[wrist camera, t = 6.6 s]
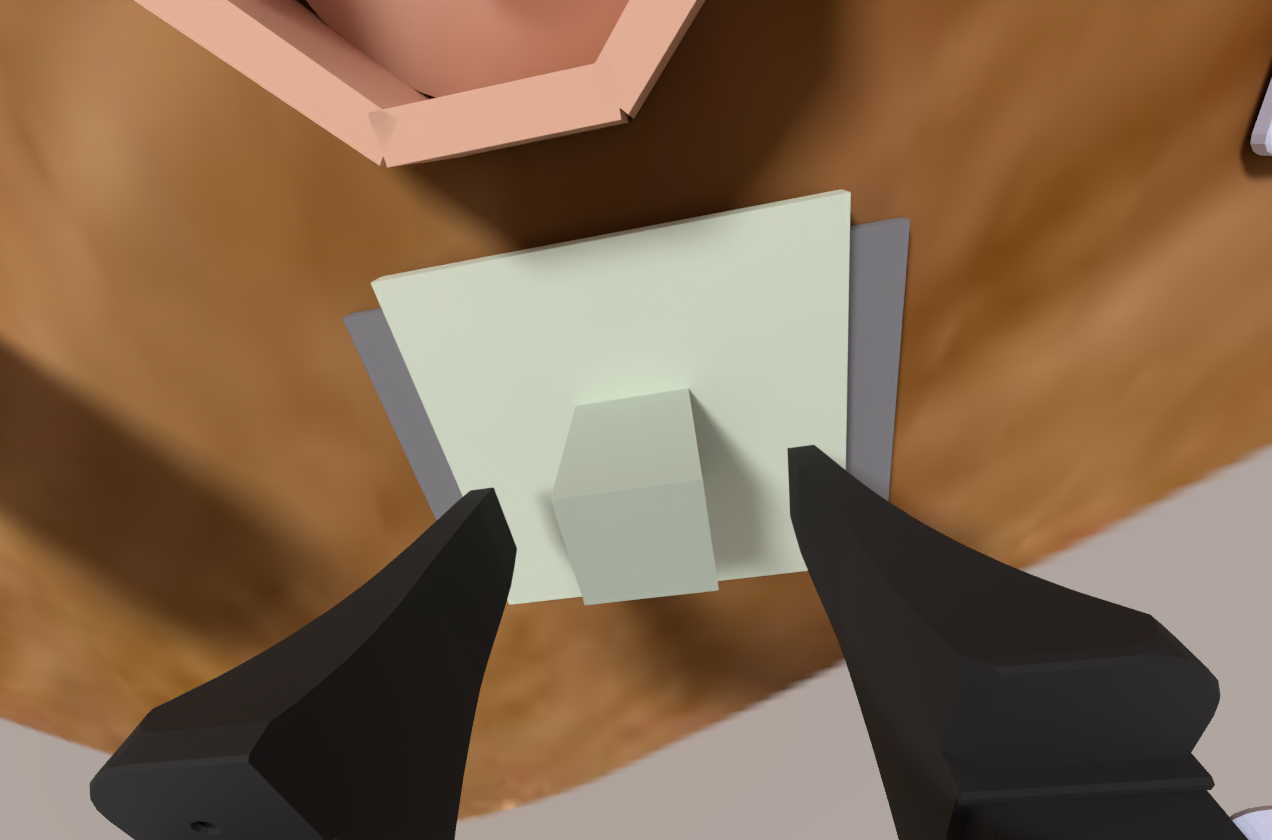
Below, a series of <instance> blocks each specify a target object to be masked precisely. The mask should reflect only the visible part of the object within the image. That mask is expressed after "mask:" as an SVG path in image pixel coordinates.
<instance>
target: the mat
mask: <svg viewBox="0 0 1272 840" xmlns="http://www.w3.org/2000/svg"><path fill="white" fill-rule="evenodd" d="M909 228H910V219H907V218H904V217H900V218H894V219H888V220H882V221H877V222H871V223H865V224H860V225H854V226H850V253H849V311H848V368H847V426H846V471H847V472H849V473H850V474H851V475H852V476H854V477H855V478H856V479H858V480H859V481H860V482H862V483H863V484H864V485H866V486H867V487H868V488H870V489H871V490H873V491H874V492H875V493H877V494H878V495H879V496H881V497H882V498H884V499H885V500H887V501H888V499H889V486H890V473H891V460H892V447H893V434H894V421H895V409H896V396H897V383H898V370H899V357H900V344H901V331H902V318H903V306H904V293H905V280H906V267H907V254H908V241H909ZM342 319H343V321H344V323H345V325H346V327H347V329H348V332H349V334H350V336H351V338H352V340H353V342H354V344H355V347H356V349H357V351H358V353H359V355H360V357H361V359H362V362H363V364H364V366H365V368H366V370H367V372H368V374H369V377H370V379H371V381H372V383H373V385H374V387H375V389H376V392H377V394H378V396H379V398H380V400H381V402H382V404H383V407H384V409H385V411H386V413H387V415H388V417H389V419H390V422H391V424H392V426H393V428H394V430H395V432H396V434H397V437H398V439H399V441H400V443H401V445H402V447H403V449H404V452H405V454H406V456H407V458H408V460H409V462H410V464H411V467H412V469H413V471H414V473H415V475H416V477H417V479H418V482H419V484H420V486H421V488H422V490H423V492H424V494H425V497H426V499H427V501H428V503H429V505H430V507H431V509H432V512H433V514H434V516H435V518H436V520H438V519H439V518H440V517H441V516H442V515H443V514H444V513H445V512H447V511H448V510H449V509H450V508H451V507H452V506H453V505H454V504H455V503H456V502H457V501H458V500H460V499H461V498H462V497H463V496H462V494H461V491H460V489H459V487H458V484H457V482H456V480H455V477H454V475H453V473H452V470H451V468H450V466H449V463H448V461H447V459H446V456H445V454H444V452H443V449H442V447H441V445H440V443H439V440H438V438H437V436H436V433H435V431H434V429H433V426H432V424H431V422H430V419H429V417H428V415H427V412H426V410H425V408H424V405H423V403H422V401H421V399H420V396H419V394H418V392H417V389H416V387H415V385H414V382H413V380H412V378H411V375H410V373H409V371H408V368H407V366H406V364H405V361H404V359H403V357H402V354H401V352H400V350H399V348H398V345H397V343H396V341H395V338H394V336H393V334H392V331H391V329H390V327H389V324H388V322H387V320H386V317H385V315H384V313H383V310H382V308H379V309H374V310H368V311H362V312H356V313H351V314H349V315H347V316H345V317H344V318H342Z"/></svg>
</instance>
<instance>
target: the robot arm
mask: <svg viewBox="0 0 1272 840" xmlns="http://www.w3.org/2000/svg"><path fill="white" fill-rule="evenodd" d="M1250 144H1251V147H1252V150H1253V152H1255V153H1256V154H1258V155H1265V156H1272V78H1271V81H1270V84H1269V87H1268V90H1267V93H1266V95H1265V98H1264V101H1263V104H1262V107H1261V110H1260V112H1259V115H1258V118H1257V121H1256V124H1255V127H1254V129H1253V132H1252V136H1251V142H1250ZM787 451H788V477H789V502H790V518H791V521H792V525H793V528H794V532H795V535H796V539H797V542H798V546H799V549H800V552H801V555H802V557H803V560H804V562H805V564H806V567H807V569H808V571H809V574H810V576H811V578H812V581H813V583H814V585H815V588H816V590H817V592H818V595H819V597H820V599H821V602H822V604H823V606H824V608H825V611H826V613H827V615H828V618H829V620H830V622H831V625H832V627H833V629H834V632H835V634H836V636H837V639H838V641H839V644H840V647H841V649H842V652H843V654H844V657H845V660H846V664H847V667H848V670H849V672H850V676H851V679H852V682H853V685H854V689H855V692H856V695H857V698H858V701H859V704H860V707H861V711H862V714H863V717H864V721H865V724H866V727H867V731H868V734H869V737H870V740H871V744H872V747H873V750H874V754H875V757H876V761H877V764H878V767H879V771H880V775H881V778H882V781H883V785H884V788H885V792H886V795H887V799H888V802H889V806H890V809H891V813H892V816H893V820H894V823H895V827H896V831H897V835H898V838H899V840H1272V806H1262V807H1255V808H1249V809H1246V810H1243V811H1240V812H1238V813H1235V814H1233V815H1232V816H1231V817H1229V816H1228V815H1227V814H1226V813H1225V811H1224V810H1223V809H1222V808H1221V807H1220V806H1219V804H1218V803H1217V802H1216V801H1215V800H1214V798H1213V797H1212V796H1211V795H1210V794H1209V793H1208V791H1207V790H1211V789H1212V788H1213V787H1214V785H1215V784H1214V782H1213V779H1212V776H1211V775H1210V774H1209V773H1208V772H1207V771H1206V769H1204V767H1203V766H1202V765H1201V764H1200V763H1199V762H1198V760H1197V759H1196V758H1195V757H1194V756H1193V755H1192V754H1191V752H1192V750H1193V749H1194V747H1195V745H1196V744H1197V742H1198V740H1199V739H1200V737H1201V736H1202V734H1203V732H1204V731H1205V729H1206V727H1207V726H1208V724H1209V723H1210V721H1211V719H1212V718H1213V716H1214V714H1215V711H1216V709H1217V706H1218V703H1219V700H1220V690H1219V683H1218V680H1217V679H1216V677H1215V676H1214V675H1213V674H1212V673H1211V672H1210V671H1209V669H1208V668H1207V667H1206V666H1204V664H1203V663H1202V662H1201V661H1200V660H1199V659H1198V658H1196V657H1195V656H1194V655H1193V654H1192V653H1191V652H1190V651H1189V650H1188V649H1187V648H1186V647H1185V646H1184V645H1183V644H1182V643H1181V642H1180V641H1179V640H1178V639H1177V638H1176V637H1175V636H1174V635H1173V634H1171V633H1170V632H1169V631H1168V630H1167V629H1166V628H1165V627H1164V626H1163V625H1162V624H1161V623H1159V622H1158V621H1157V620H1156V619H1154V618H1153V617H1152V616H1151V615H1149V614H1146V613H1143V612H1140V611H1137V610H1134V609H1131V608H1127V607H1124V606H1121V605H1118V604H1115V603H1111V602H1108V601H1105V600H1102V599H1098V598H1095V597H1092V596H1089V595H1086V594H1083V593H1080V592H1077V591H1074V590H1071V589H1068V588H1065V587H1063V586H1060V585H1057V584H1055V583H1052V582H1049V581H1046V580H1044V579H1041V578H1039V577H1036V576H1033V575H1031V574H1028V573H1026V572H1023V571H1021V570H1018V569H1016V568H1013V567H1011V566H1009V565H1006V564H1004V563H1002V562H999V561H997V560H995V559H993V558H991V557H988V556H986V555H984V554H982V553H980V552H977V551H975V550H973V549H971V548H969V547H967V546H965V545H963V544H961V543H959V542H957V541H955V540H953V539H951V538H949V537H947V536H945V535H943V534H942V533H940V532H938V531H936V530H934V529H932V528H931V527H929V526H927V525H925V524H923V523H922V522H920V521H918V520H917V519H915V518H913V517H911V516H910V515H908V514H907V513H905V512H904V511H902V510H901V509H899V508H897V507H896V506H894V505H893V504H891V503H890V502H888V501H887V500H885V499H884V498H882V497H881V496H879V495H878V494H877V493H875V492H874V491H873V490H871V489H870V488H868V487H867V486H866V485H864V484H863V483H862V482H860V481H859V480H858V479H856V478H855V477H854V476H852V475H851V474H850V473H849V472H847V471H846V470H845V469H844V468H842V467H841V466H840V465H839V464H837V463H836V462H835V461H834V460H833V459H831V458H830V457H829V456H828V455H826V454H825V453H824V452H823V451H821V450H820V449H819V448H818V447H816V446H815V445H808V446H800V447H793V448H787ZM516 553H517V547H516V544H515V542H514V539H513V537H512V534H511V531H510V529H509V526H508V524H507V521H506V518H505V516H504V513H503V510H502V508H501V505H500V503H499V500H498V497H497V495H496V492H495V489H494V487H493V488H485V489H478V490H470V491H469V492H468V493H467V494H465V495H464V496H463V497H462V498H461V499H460V500H458V501H457V502H456V503H455V504H454V505H453V506H452V507H451V508H450V509H449V510H448V511H447V512H445V513H444V514H443V515H442V516H441V517H440V518H439V519H438V520H437V521H436V522H435V523H434V524H433V525H432V526H431V527H429V528H428V529H427V530H426V531H425V532H424V533H423V534H422V535H421V536H420V537H419V538H418V539H417V540H416V541H414V542H413V543H412V544H411V545H410V546H409V547H408V548H407V549H405V550H404V551H403V552H402V553H401V554H400V555H399V556H397V557H396V558H395V559H394V560H393V561H392V562H390V563H389V564H388V565H387V566H386V567H385V568H383V569H382V570H381V571H380V572H379V573H378V574H376V575H375V576H374V577H373V578H372V579H370V580H369V581H368V582H366V583H365V584H364V585H363V586H361V587H360V588H359V589H358V590H356V591H355V592H353V593H352V594H351V595H349V596H348V597H347V598H345V599H344V600H343V601H341V602H340V603H339V604H337V605H336V606H334V607H333V608H332V609H330V610H329V611H327V612H326V613H324V614H323V615H321V616H320V617H318V618H316V619H315V620H313V621H312V622H310V623H309V624H307V625H306V626H304V627H303V628H301V629H300V630H298V631H297V632H295V633H294V634H292V635H290V636H289V637H287V638H286V639H284V640H282V641H281V642H279V643H277V644H276V645H274V646H272V647H271V648H269V649H267V650H266V651H264V652H262V653H261V654H259V655H257V656H255V657H253V658H252V659H250V660H248V661H246V662H244V663H243V664H241V665H239V666H237V667H235V668H234V669H232V670H230V671H228V672H226V673H224V674H222V675H221V676H219V677H217V678H215V679H213V680H211V681H209V682H207V683H205V684H203V685H201V686H199V687H197V688H195V689H193V690H191V691H189V692H187V693H185V694H183V695H181V696H179V697H177V698H175V699H173V700H171V701H169V702H166V703H164V704H162V705H160V706H158V707H156V708H154V709H152V710H151V711H150V712H149V713H148V714H147V715H146V717H145V718H144V719H143V720H142V721H141V723H140V724H139V725H138V726H137V727H136V729H135V730H134V731H133V732H132V733H131V734H130V736H129V737H128V738H127V739H126V740H125V742H124V743H123V744H122V745H121V746H120V747H119V749H118V750H117V751H116V752H115V753H114V754H113V756H112V757H111V758H110V759H109V760H108V761H107V762H106V764H105V765H104V766H103V767H102V768H101V769H100V771H99V772H98V773H97V774H96V775H95V777H94V778H93V779H92V781H91V782H90V798H91V801H92V802H93V804H94V806H95V807H96V809H97V810H98V811H99V812H100V813H101V814H102V815H103V816H104V817H106V819H108V820H109V821H110V822H111V823H113V824H114V825H116V826H117V827H118V828H120V829H121V830H122V831H124V832H125V833H126V834H128V835H129V836H130V837H132V838H133V839H135V840H454V839H455V830H456V823H457V817H458V810H459V803H460V797H461V790H462V783H463V776H464V771H465V765H466V759H467V754H468V748H469V742H470V737H471V731H472V726H473V721H474V716H475V711H476V706H477V701H478V697H479V692H480V687H481V684H482V680H483V676H484V672H485V669H486V666H487V662H488V659H489V656H490V653H491V650H492V646H493V643H494V640H495V637H496V634H497V631H498V627H499V624H500V621H501V618H502V615H503V611H504V608H505V605H506V602H507V598H508V595H509V591H510V588H511V584H512V578H513V573H514V567H515V560H516Z"/></svg>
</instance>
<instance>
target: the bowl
mask: <svg viewBox="0 0 1272 840" xmlns="http://www.w3.org/2000/svg"><path fill="white" fill-rule="evenodd" d="M134 1H136V2H137V3H139V4H140V5H142V6H143V7H145V8H146V9H148V10H149V11H151V12H152V13H154V14H155V15H157V16H158V17H160V18H161V19H163V20H164V21H166V22H167V23H168V24H170V25H171V26H173V27H174V28H176V29H177V30H179V31H180V32H182V33H183V34H185V35H186V36H188V37H189V38H191V39H192V40H194V41H195V42H197V43H198V44H200V45H201V46H203V47H204V48H206V49H207V50H209V51H210V52H212V53H213V54H215V55H216V56H217V57H219V58H220V59H222V60H223V61H225V62H226V63H228V64H229V65H231V66H232V67H234V68H235V69H237V70H238V71H240V72H241V73H243V74H244V75H246V76H247V77H249V78H250V79H252V80H253V81H255V82H256V83H258V84H259V85H261V86H262V87H264V88H265V89H266V90H268V91H269V92H271V93H272V94H274V95H275V96H277V97H278V98H280V99H281V100H283V101H284V102H286V103H287V104H289V105H290V106H292V107H293V108H295V109H296V110H298V111H299V112H301V113H302V114H304V115H305V116H307V117H308V118H310V119H311V120H313V121H314V122H315V123H317V124H318V125H320V126H321V127H323V128H324V129H326V130H327V131H329V132H330V133H332V134H333V135H335V136H336V137H338V138H339V139H341V140H342V141H344V142H345V143H347V144H348V145H350V146H351V147H353V148H354V149H356V150H357V151H359V152H360V153H361V154H363V155H364V156H366V157H367V158H369V159H370V160H372V161H373V162H375V163H376V164H378V165H379V166H380V165H387V167H395V166H402V165H409V164H417V163H424V162H432V161H439V160H446V159H454V158H459V157H464V156H469V155H474V154H479V153H484V152H489V151H494V150H499V149H504V148H508V147H513V146H518V145H523V144H528V143H533V142H538V141H543V140H548V139H553V138H558V137H562V136H567V135H572V134H577V133H582V132H587V131H592V130H597V129H602V128H607V127H611V126H616V125H621V124H626V123H629V122H628V115H629V116H630V117H632V118H633V119H634V118H635V116H636V115H637V113H638V111H639V110H640V108H641V106H642V105H643V103H644V101H645V100H646V98H647V97H648V95H649V93H650V92H651V90H652V88H653V87H654V85H655V83H656V82H657V80H658V78H659V77H660V75H661V73H662V72H663V70H664V68H665V67H666V65H667V63H668V62H669V60H670V58H671V57H672V55H673V53H674V52H675V50H676V48H677V47H678V45H679V43H680V42H681V40H682V38H683V37H684V35H685V33H686V32H687V30H688V29H689V27H690V25H691V24H692V22H693V20H694V19H695V17H696V15H697V14H698V12H699V10H700V9H701V7H702V5H703V4H704V2H705V0H306V1H307V3H308V4H309V5H310V6H311V7H312V9H313V10H314V11H315V12H316V14H317V15H318V16H317V15H316V14H315V13H313V12H312V11H310V10H309V9H308V8H306V7H305V6H304V5H302V4H301V3H299V2H298V1H297V0H134ZM425 94H427V95H430V96H433V97H436V98H433V99H431V98H430V97H428V96H427V95H425ZM627 114H628V115H627Z"/></svg>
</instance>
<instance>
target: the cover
mask: <svg viewBox="0 0 1272 840" xmlns="http://www.w3.org/2000/svg"><path fill="white" fill-rule="evenodd" d="M850 196H851V192H848V191H845V190H842V189H841V190H835V191H830V192H825V193H820V194H814V195H809V196H804V197H799V198H793V199H788V200H783V201H778V202H772V203H767V204H762V205H756V206H751V207H746V208H741V209H735V210H730V211H725V212H720V213H714V214H709V215H704V216H699V217H693V218H688V219H683V220H677V221H672V222H667V223H662V224H656V225H651V226H646V227H641V228H635V229H630V230H625V231H619V232H614V233H609V234H604V235H598V236H593V237H588V238H583V239H577V240H572V241H567V242H562V243H556V244H551V245H546V246H540V247H535V248H530V249H525V250H519V251H514V252H509V253H504V254H498V255H493V256H488V257H482V258H477V259H472V260H467V261H461V262H456V263H451V264H446V265H440V266H435V267H430V268H425V269H419V270H414V271H409V272H403V273H398V274H393V275H388V276H382V277H380V278H378V279H377V280H375V281H373V282H371V285H372V287H373V290H374V292H375V294H376V297H377V299H378V301H379V304H380V306H381V308H382V310H383V313H384V315H385V317H386V320H387V322H388V324H389V327H390V329H391V331H392V334H393V336H394V338H395V341H396V343H397V345H398V348H399V350H400V352H401V354H402V357H403V359H404V361H405V364H406V366H407V368H408V371H409V373H410V375H411V378H412V380H413V382H414V385H415V387H416V389H417V392H418V394H419V396H420V399H421V401H422V403H423V405H424V408H425V410H426V412H427V415H428V417H429V419H430V422H431V424H432V426H433V429H434V431H435V433H436V436H437V438H438V440H439V443H440V445H441V447H442V449H443V452H444V454H445V456H446V459H447V461H448V463H449V466H450V468H451V470H452V473H453V475H454V477H455V480H456V482H457V484H458V487H459V489H460V491H461V494H462V496H464V495H465V494H467V493H468V492H469V491H470V490H478V489H485V488H493V487H494V489H495V492H496V495H497V497H498V500H499V503H500V505H501V508H502V510H503V513H504V516H505V518H506V521H507V524H508V526H509V529H510V531H511V534H512V537H513V539H514V542H515V544H516V547H517V553H516V560H515V567H514V573H513V578H512V584H511V588H510V591H509V595H508V598H507V600H508V602H509V605H511V604H520V603H529V602H537V601H546V600H555V599H564V598H573V597H581V596H582V597H583V600H584V603H585V605H592V604H601V603H610V602H619V601H628V600H636V599H645V598H654V597H663V596H672V595H681V594H690V593H699V592H708V591H717V590H719V587H718V581H722V580H731V579H740V578H748V577H757V576H766V575H775V574H784V573H792V572H801V571H808V569H807V567H806V564H805V562H804V560H803V557H802V555H801V552H800V549H799V546H798V542H797V539H796V535H795V532H794V528H793V525H792V521H791V518H790V502H789V477H788V451H787V448H793V447H800V446H808V445H815V446H816V447H818V448H819V449H820V450H821V451H823V452H824V453H825V454H826V455H828V456H829V457H830V458H831V459H833V460H834V461H835V462H836V463H837V464H839V465H840V466H841V467H842V468H844V469H845V470H846V426H847V368H848V311H849V253H850Z"/></svg>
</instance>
